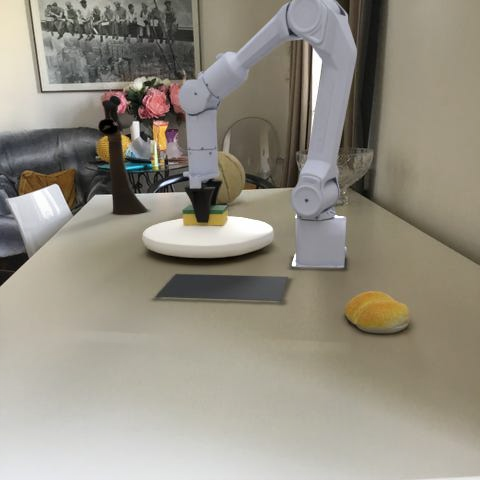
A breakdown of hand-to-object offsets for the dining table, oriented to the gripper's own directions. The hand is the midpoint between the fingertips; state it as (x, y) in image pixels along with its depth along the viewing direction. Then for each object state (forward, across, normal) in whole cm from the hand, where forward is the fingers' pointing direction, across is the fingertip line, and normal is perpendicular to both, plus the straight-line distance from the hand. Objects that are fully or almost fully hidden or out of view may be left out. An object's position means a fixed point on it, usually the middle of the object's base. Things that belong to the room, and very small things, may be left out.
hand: (206, 219), depth 113 cm
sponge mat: (+7, +23, +8) cm, 25 cm away
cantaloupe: (+7, -51, -8) cm, 52 cm away
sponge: (+1, 0, 0) cm, 1 cm away
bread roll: (+7, +35, +32) cm, 48 cm away
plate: (+7, -2, 0) cm, 7 cm away
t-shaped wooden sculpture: (+7, -39, -31) cm, 51 cm away
